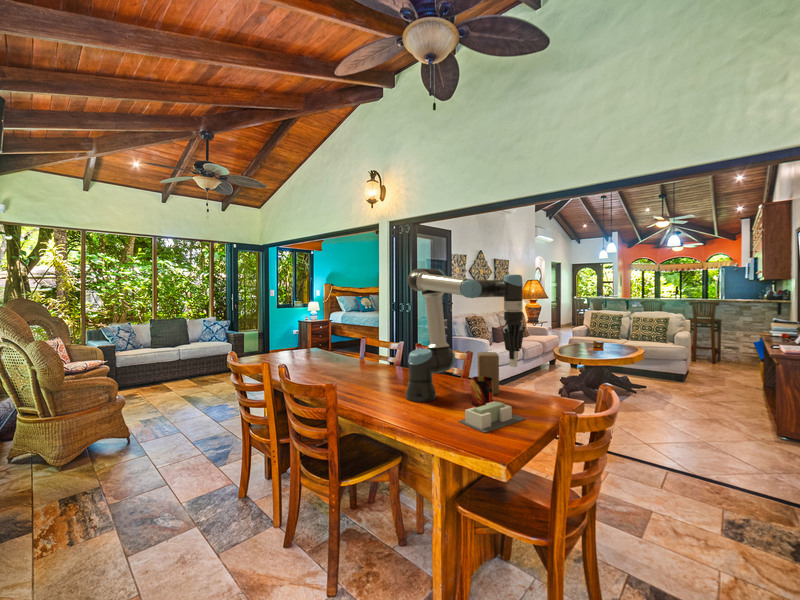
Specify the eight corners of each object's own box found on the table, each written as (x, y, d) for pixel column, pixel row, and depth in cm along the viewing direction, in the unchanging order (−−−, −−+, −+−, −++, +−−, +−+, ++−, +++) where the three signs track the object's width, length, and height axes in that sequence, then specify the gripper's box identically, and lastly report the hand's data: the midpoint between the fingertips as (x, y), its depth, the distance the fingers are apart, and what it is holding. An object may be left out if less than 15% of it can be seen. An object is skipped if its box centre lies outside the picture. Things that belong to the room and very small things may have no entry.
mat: (458, 421, 144) (458, 420, 144) (498, 410, 157) (498, 409, 157) (484, 433, 132) (484, 432, 132) (525, 419, 146) (525, 418, 146)
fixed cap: (465, 422, 143) (465, 409, 142) (474, 419, 145) (474, 407, 145) (481, 429, 135) (481, 416, 135) (491, 426, 138) (491, 413, 138)
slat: (474, 423, 141) (473, 408, 141) (497, 415, 149) (497, 401, 149) (480, 425, 138) (480, 410, 138) (504, 418, 146) (504, 403, 146)
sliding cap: (485, 415, 149) (485, 403, 149) (495, 412, 153) (495, 400, 152) (502, 421, 142) (502, 409, 142) (512, 418, 145) (512, 406, 145)
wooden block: (477, 388, 191) (477, 351, 190) (496, 389, 190) (496, 351, 189) (479, 394, 181) (478, 355, 180) (499, 394, 180) (499, 355, 179)
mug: (491, 411, 155) (491, 384, 155) (467, 404, 166) (466, 378, 166) (504, 407, 161) (504, 380, 161) (480, 399, 172) (480, 375, 172)
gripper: (510, 312, 144) (510, 370, 145) (530, 310, 152) (530, 365, 152) (495, 311, 151) (496, 366, 151) (516, 310, 158) (516, 363, 159)
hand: (513, 366), depth 152 cm, fingers closed
